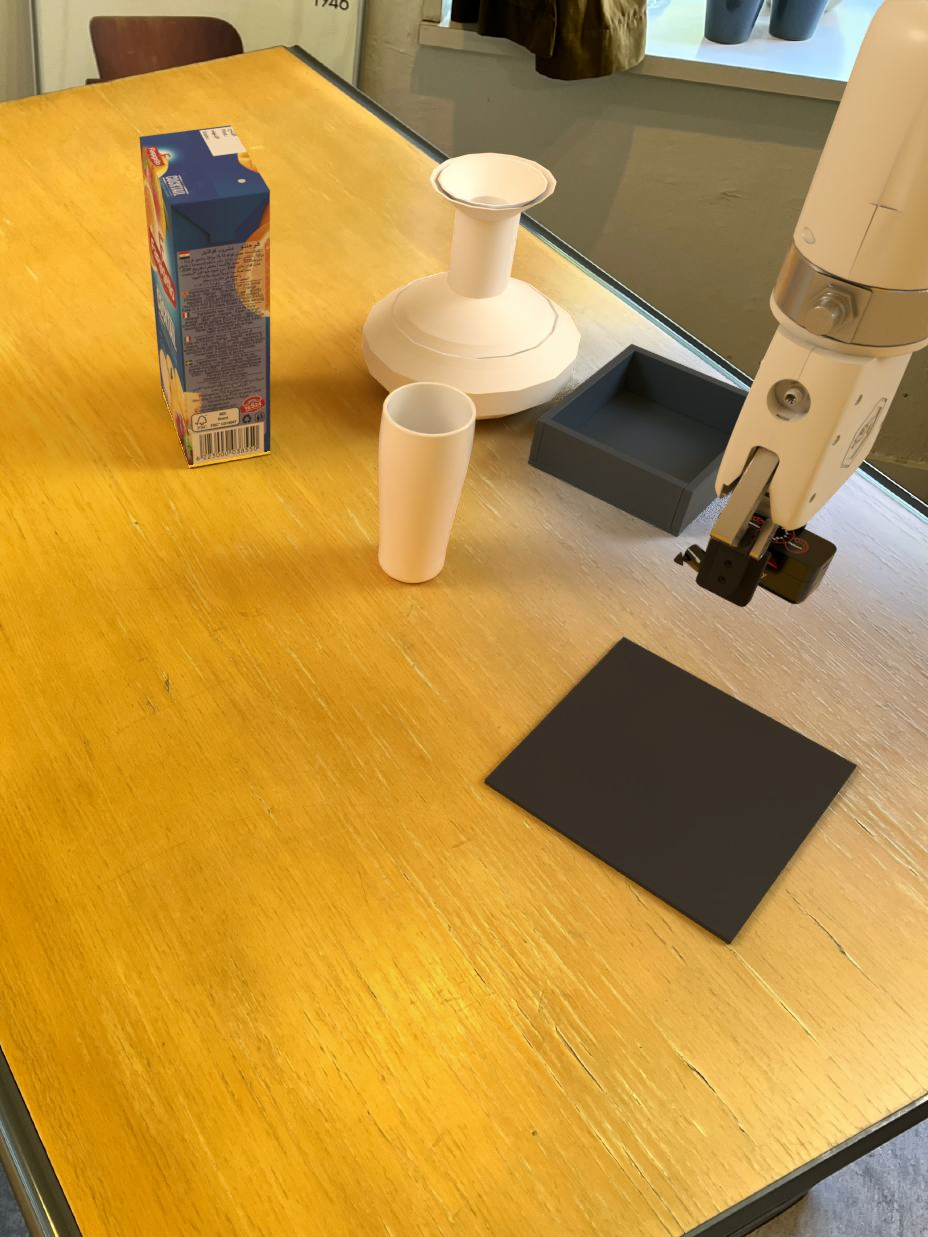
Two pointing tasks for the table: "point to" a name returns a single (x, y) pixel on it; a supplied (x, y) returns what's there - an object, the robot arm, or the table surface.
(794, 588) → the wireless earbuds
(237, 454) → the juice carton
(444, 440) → the drinking glass
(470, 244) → the white ceramic vase shape
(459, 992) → the table surface
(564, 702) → the mat
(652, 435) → the box
